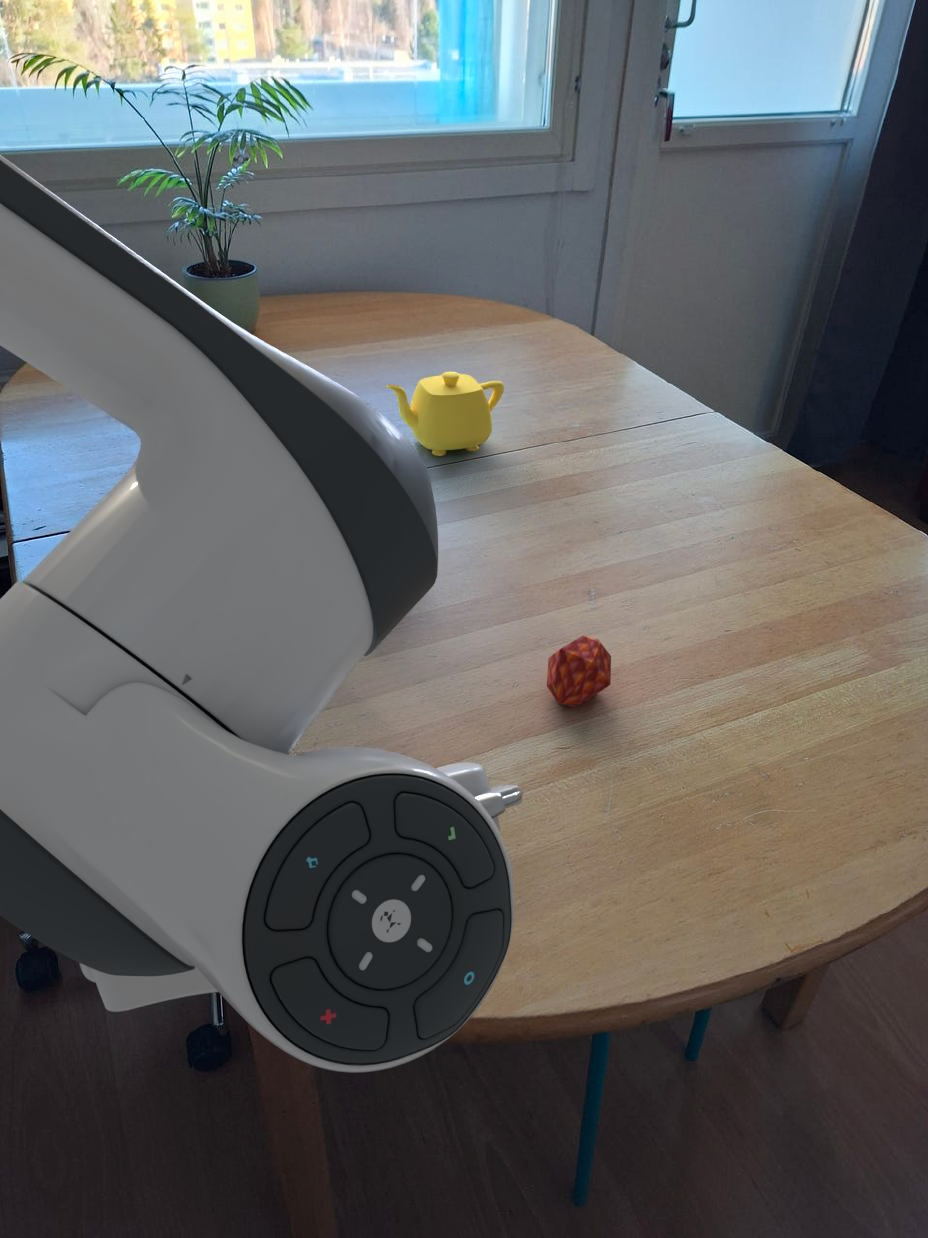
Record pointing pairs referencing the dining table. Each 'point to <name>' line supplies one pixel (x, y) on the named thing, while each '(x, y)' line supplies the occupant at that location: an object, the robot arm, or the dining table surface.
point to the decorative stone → (579, 671)
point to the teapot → (449, 411)
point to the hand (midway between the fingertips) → (278, 842)
